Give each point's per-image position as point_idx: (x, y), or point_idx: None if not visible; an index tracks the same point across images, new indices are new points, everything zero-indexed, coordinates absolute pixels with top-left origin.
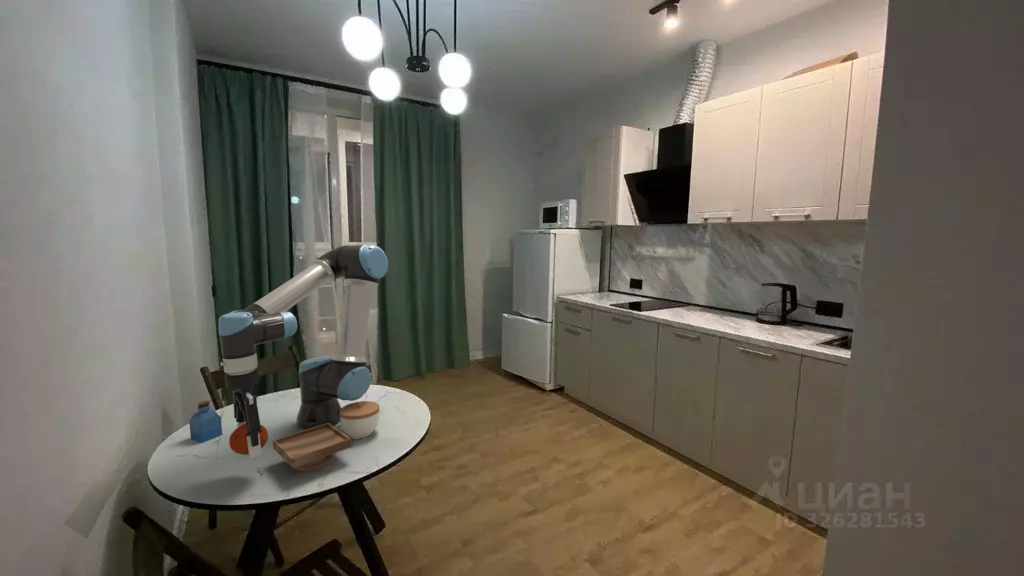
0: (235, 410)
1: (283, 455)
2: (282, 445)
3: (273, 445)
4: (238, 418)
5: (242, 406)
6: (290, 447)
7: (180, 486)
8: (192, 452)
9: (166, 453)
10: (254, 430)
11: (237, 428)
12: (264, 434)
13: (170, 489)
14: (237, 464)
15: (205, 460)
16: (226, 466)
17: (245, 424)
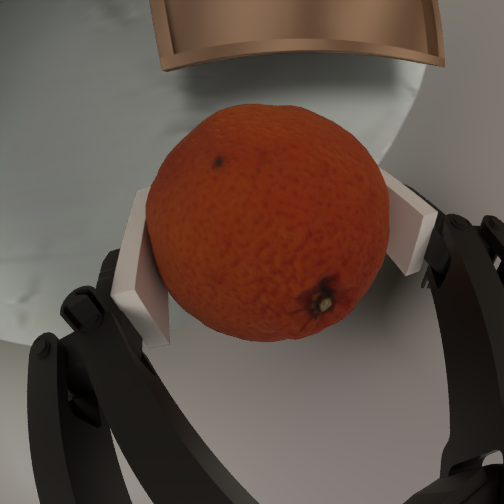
0: (112, 445)
1: (338, 52)
2: (231, 28)
3: (172, 69)
4: (162, 383)
5: (481, 461)
6: (292, 5)
7: (175, 308)
8: (11, 304)
9: (14, 337)
10: (494, 261)
11: (278, 340)
12: (362, 147)
13: (179, 320)
14: (105, 198)
15: (51, 279)
16: (105, 228)
17: (314, 322)
